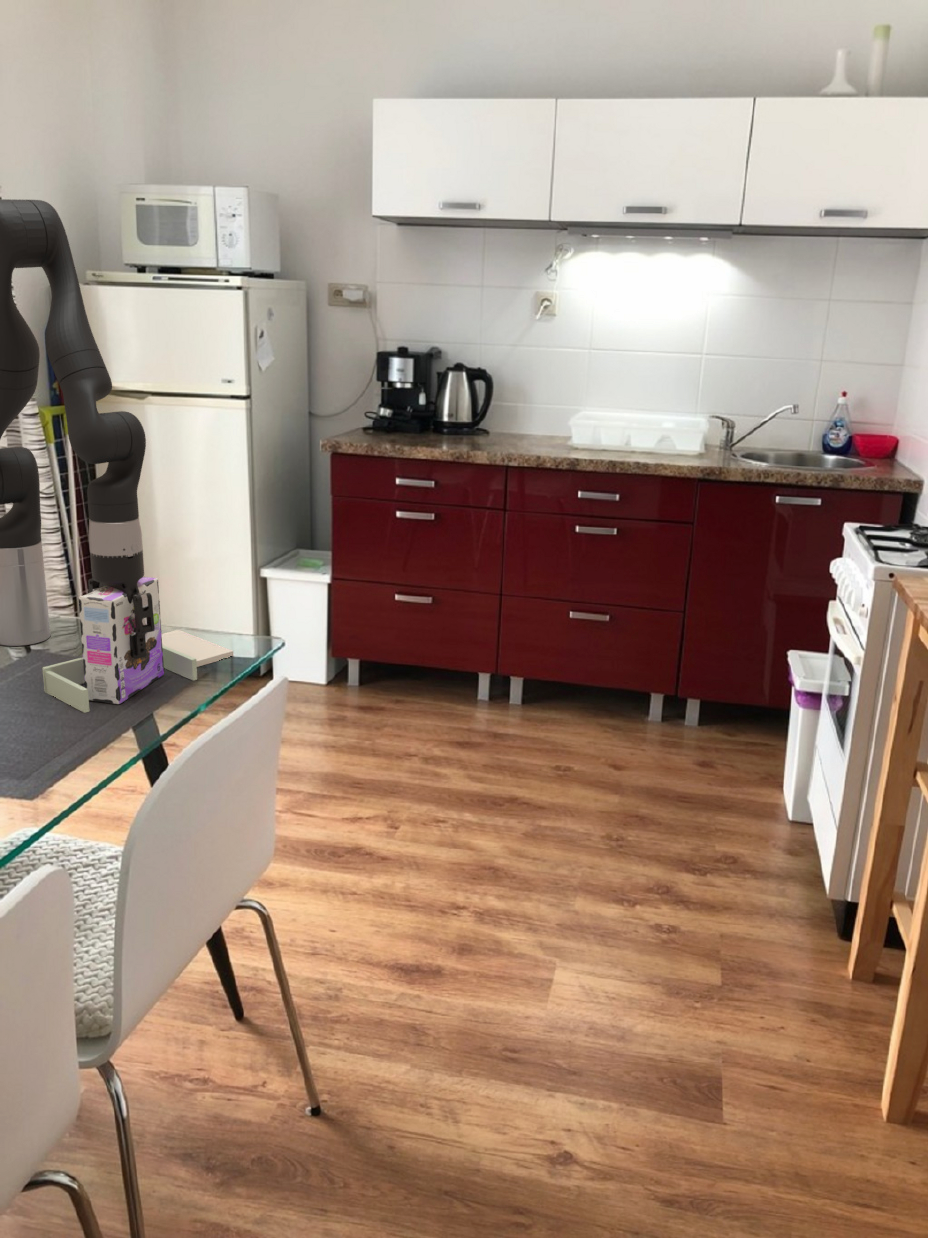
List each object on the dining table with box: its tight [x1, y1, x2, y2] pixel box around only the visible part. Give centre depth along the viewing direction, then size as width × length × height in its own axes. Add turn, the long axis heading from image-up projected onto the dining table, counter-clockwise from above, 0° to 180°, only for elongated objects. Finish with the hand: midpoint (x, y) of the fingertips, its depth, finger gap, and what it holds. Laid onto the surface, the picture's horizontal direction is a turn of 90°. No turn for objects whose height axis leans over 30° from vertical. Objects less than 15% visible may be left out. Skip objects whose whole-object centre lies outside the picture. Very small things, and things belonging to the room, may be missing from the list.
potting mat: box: [162, 629, 234, 668], centre depth 179 cm, size 16×10×1 cm, turn 49°
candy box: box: [78, 576, 165, 705], centre depth 160 cm, size 14×6×16 cm, turn 167°
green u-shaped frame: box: [42, 645, 198, 714], centre depth 163 cm, size 12×20×4 cm, turn 139°
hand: (123, 650), depth 161 cm, fingers closed on candy box, 8 cm apart
